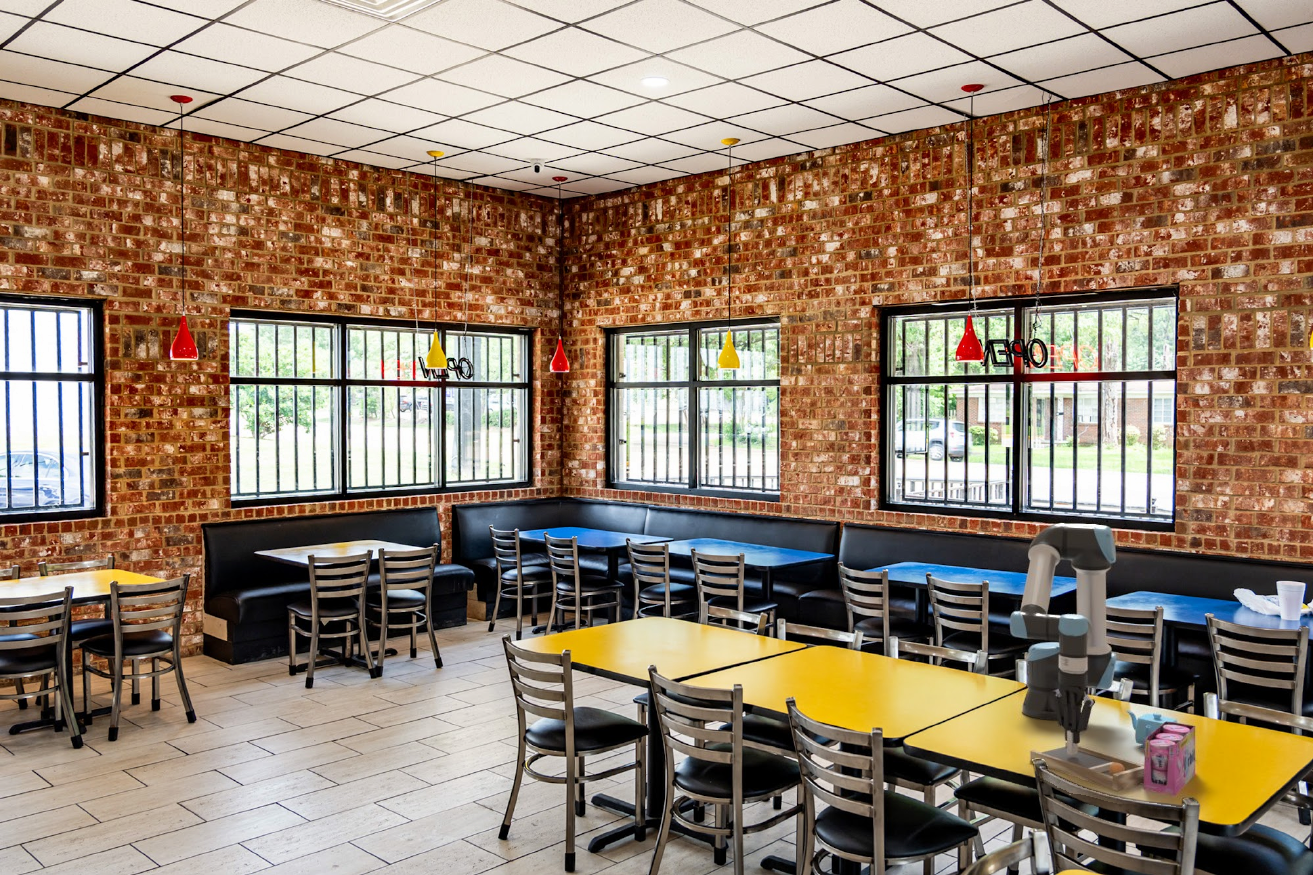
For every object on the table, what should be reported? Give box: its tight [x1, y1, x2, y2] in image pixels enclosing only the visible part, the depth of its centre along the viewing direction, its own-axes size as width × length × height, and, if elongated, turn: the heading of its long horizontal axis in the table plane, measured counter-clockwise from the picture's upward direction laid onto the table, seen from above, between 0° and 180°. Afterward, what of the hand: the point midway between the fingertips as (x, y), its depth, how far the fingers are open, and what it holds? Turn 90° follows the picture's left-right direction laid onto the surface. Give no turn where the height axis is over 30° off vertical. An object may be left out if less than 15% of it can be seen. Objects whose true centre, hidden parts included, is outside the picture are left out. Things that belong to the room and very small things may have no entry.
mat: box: [1040, 746, 1115, 776], centre depth 283 cm, size 14×26×2 cm, turn 31°
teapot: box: [1125, 710, 1178, 749], centre depth 302 cm, size 18×14×10 cm
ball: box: [1109, 763, 1125, 776], centre depth 276 cm, size 4×4×4 cm
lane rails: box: [1029, 741, 1144, 792], centre depth 282 cm, size 16×27×4 cm, turn 31°
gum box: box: [1143, 721, 1196, 797], centre depth 274 cm, size 24×8×14 cm, turn 140°
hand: (1072, 753), depth 288 cm, fingers closed
